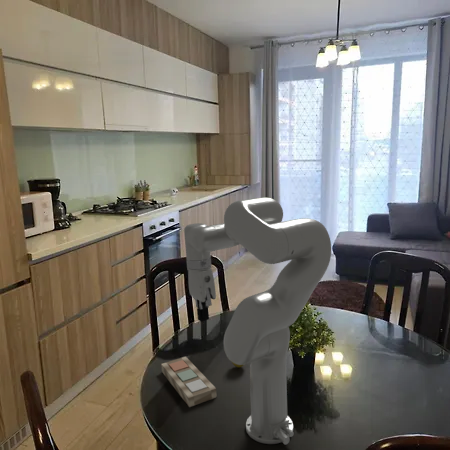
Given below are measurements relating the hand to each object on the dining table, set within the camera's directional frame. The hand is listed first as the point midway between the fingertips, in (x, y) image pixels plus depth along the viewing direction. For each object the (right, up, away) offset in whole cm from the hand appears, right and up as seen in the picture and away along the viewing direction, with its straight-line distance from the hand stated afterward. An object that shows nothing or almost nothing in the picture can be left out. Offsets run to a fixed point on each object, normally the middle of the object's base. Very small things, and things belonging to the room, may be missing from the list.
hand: (203, 319), depth 131 cm
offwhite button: (-2, -22, -4) cm, 22 cm away
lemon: (+12, -19, +11) cm, 25 cm away
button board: (-5, -21, +2) cm, 22 cm away
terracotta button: (-9, -20, +8) cm, 23 cm away
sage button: (-5, -21, +2) cm, 21 cm away
